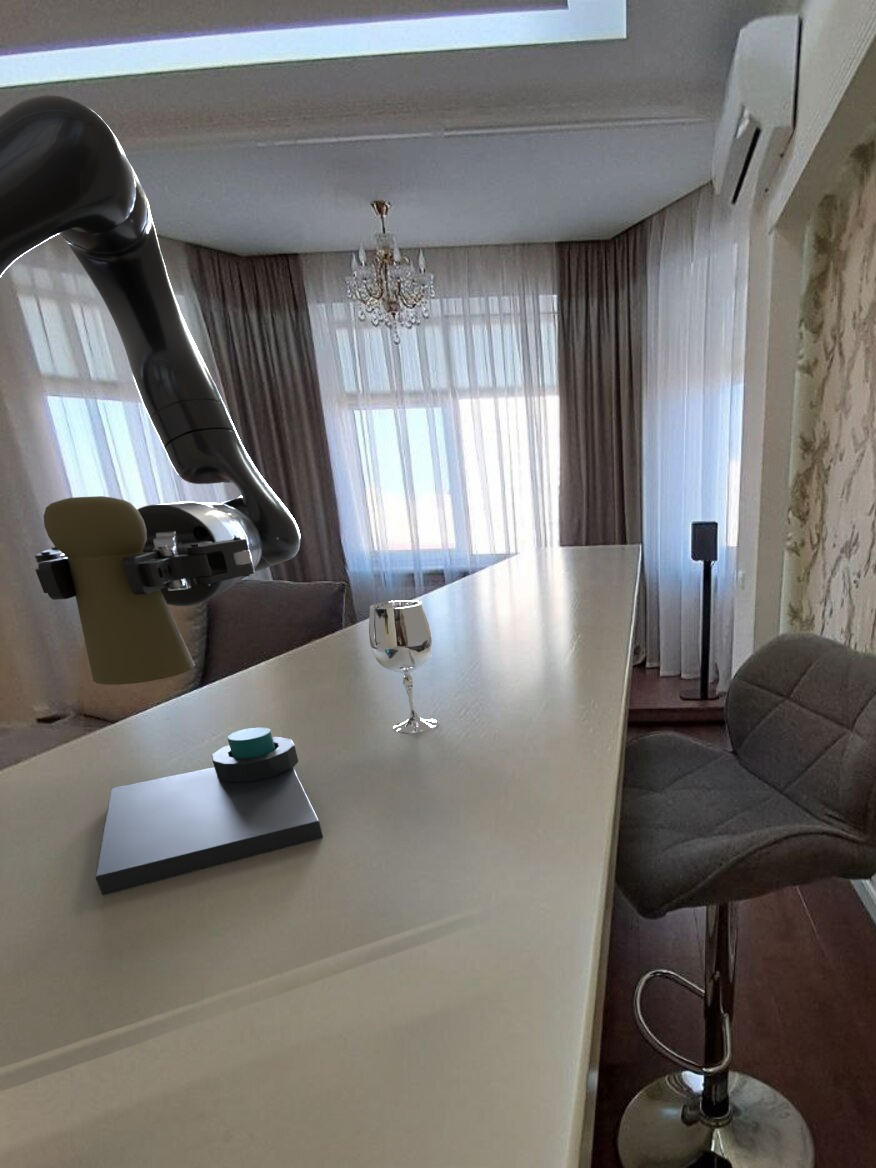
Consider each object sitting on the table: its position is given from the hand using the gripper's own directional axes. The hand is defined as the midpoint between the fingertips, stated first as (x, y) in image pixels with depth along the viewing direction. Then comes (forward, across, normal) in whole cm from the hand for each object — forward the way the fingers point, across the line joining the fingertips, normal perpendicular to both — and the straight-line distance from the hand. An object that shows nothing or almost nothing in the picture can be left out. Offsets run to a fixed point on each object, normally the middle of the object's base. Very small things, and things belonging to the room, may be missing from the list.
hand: (92, 579), depth 41 cm
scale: (-2, +2, +18) cm, 18 cm away
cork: (-3, 0, +7) cm, 7 cm away
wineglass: (-19, +16, +18) cm, 31 cm away
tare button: (-8, +4, +15) cm, 17 cm away
